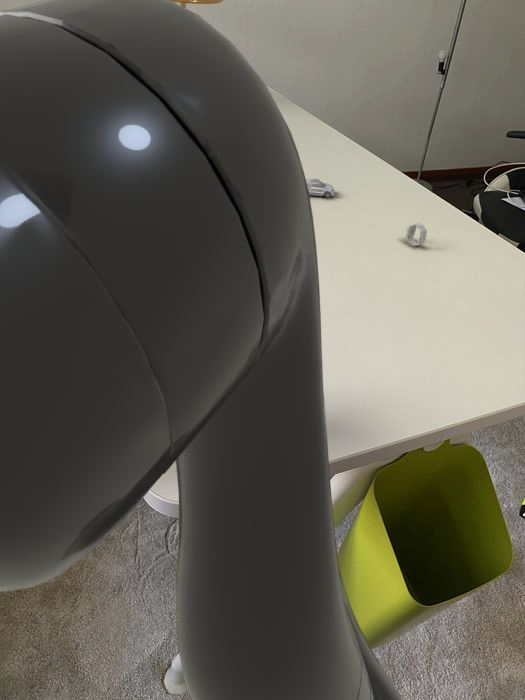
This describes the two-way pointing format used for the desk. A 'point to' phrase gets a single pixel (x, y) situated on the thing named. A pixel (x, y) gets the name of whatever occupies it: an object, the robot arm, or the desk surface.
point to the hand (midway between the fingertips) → (241, 362)
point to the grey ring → (411, 232)
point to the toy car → (319, 188)
